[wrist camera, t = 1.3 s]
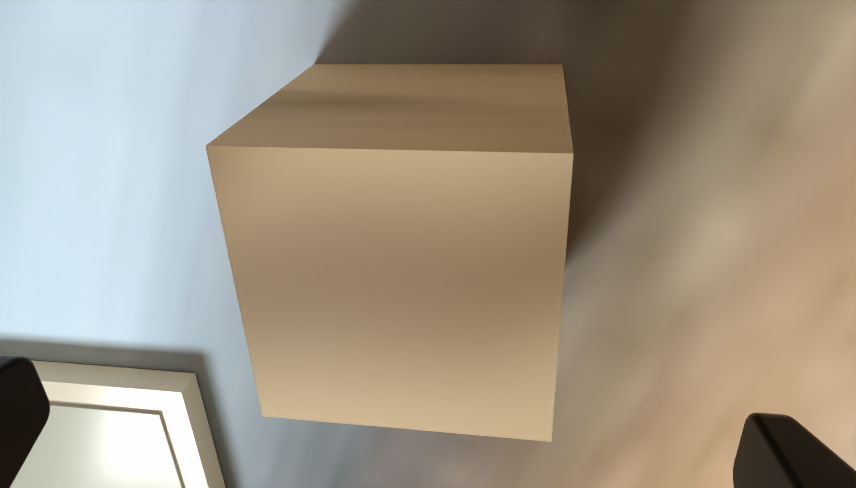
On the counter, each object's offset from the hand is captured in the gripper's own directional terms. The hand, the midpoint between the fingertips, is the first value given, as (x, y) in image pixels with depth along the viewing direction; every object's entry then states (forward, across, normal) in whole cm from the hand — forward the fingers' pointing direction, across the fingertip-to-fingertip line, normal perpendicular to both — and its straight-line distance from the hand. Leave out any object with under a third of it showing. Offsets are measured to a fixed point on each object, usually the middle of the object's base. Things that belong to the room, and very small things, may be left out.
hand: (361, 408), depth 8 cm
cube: (+7, 0, 0) cm, 7 cm away
